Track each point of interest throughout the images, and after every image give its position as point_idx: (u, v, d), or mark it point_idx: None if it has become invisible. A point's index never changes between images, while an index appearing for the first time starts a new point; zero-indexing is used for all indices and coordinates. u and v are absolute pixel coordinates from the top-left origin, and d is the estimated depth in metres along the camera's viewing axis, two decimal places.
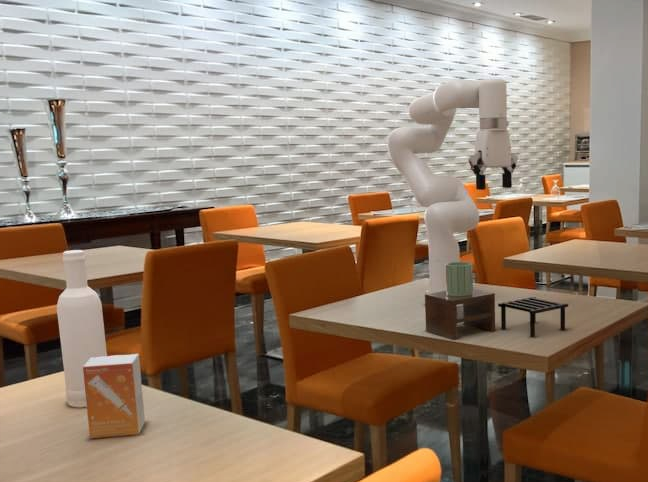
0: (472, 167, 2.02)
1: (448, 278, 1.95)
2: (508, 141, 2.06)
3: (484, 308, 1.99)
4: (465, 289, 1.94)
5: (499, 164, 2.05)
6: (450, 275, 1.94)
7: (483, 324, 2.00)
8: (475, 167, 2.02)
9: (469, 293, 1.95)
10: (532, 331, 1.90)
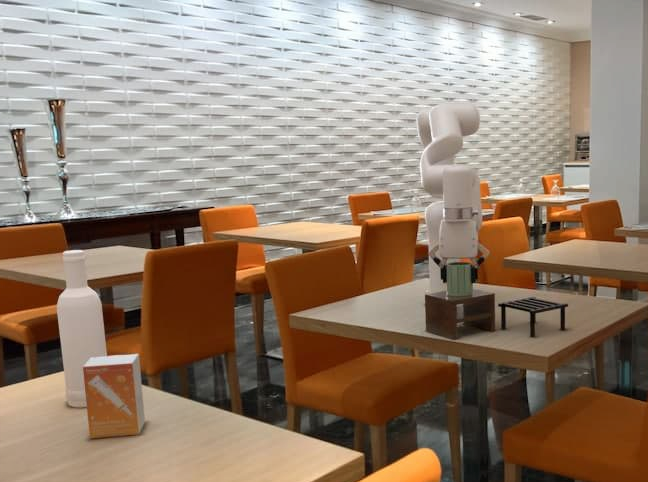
0: None
1: (448, 278, 1.95)
2: (471, 232, 1.92)
3: (484, 308, 1.99)
4: (465, 289, 1.94)
5: (458, 256, 1.93)
6: (450, 275, 1.94)
7: (483, 324, 2.00)
8: (434, 260, 1.96)
9: (469, 293, 1.95)
10: (532, 331, 1.90)
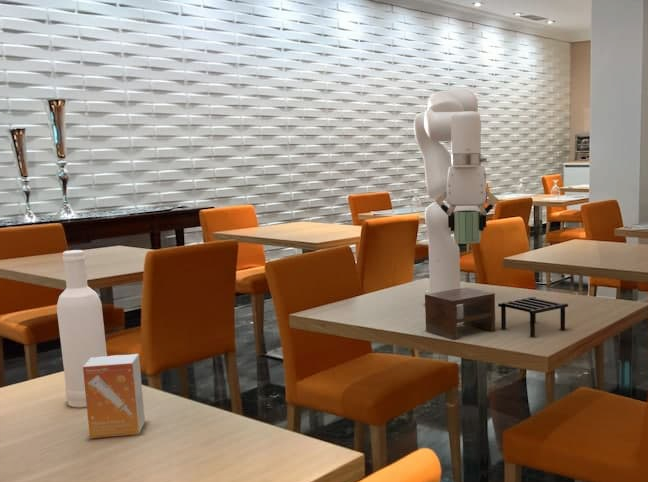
0: (441, 207, 1.94)
1: (456, 225, 1.92)
2: (479, 178, 1.89)
3: (484, 308, 1.99)
4: (473, 237, 1.92)
5: (466, 203, 1.91)
6: (458, 222, 1.92)
7: (483, 324, 2.00)
8: (442, 207, 1.93)
9: (477, 241, 1.93)
10: (532, 331, 1.90)
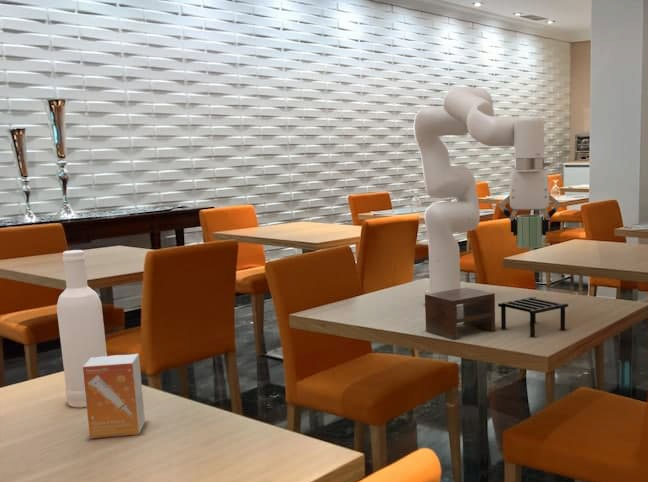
0: (503, 212, 1.94)
1: (519, 230, 1.92)
2: (543, 183, 1.89)
3: (484, 308, 1.99)
4: (536, 241, 1.91)
5: (530, 207, 1.91)
6: (521, 227, 1.91)
7: (483, 324, 2.00)
8: (504, 212, 1.93)
9: (540, 245, 1.92)
10: (532, 331, 1.90)
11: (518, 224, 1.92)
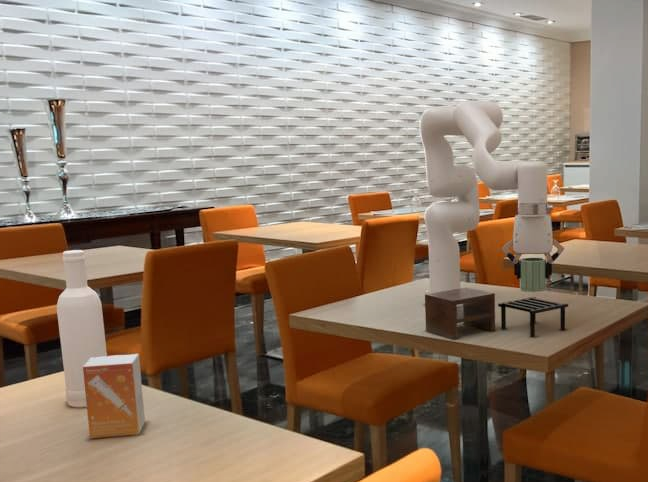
0: (507, 255, 1.96)
1: (522, 274, 1.94)
2: (546, 227, 1.91)
3: (484, 308, 1.99)
4: (540, 285, 1.93)
5: (533, 251, 1.93)
6: (525, 271, 1.93)
7: (483, 324, 2.00)
8: (508, 255, 1.95)
9: (543, 289, 1.94)
10: (532, 331, 1.90)
11: (522, 268, 1.94)
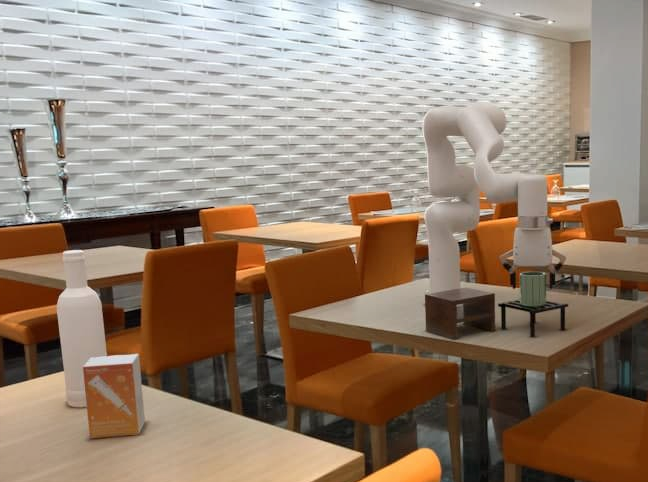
0: (503, 265, 1.97)
1: (522, 288, 1.95)
2: (546, 240, 1.92)
3: (484, 308, 1.99)
4: (540, 299, 1.94)
5: (533, 264, 1.94)
6: (525, 285, 1.94)
7: (483, 324, 2.00)
8: (504, 265, 1.96)
9: (543, 303, 1.95)
10: (532, 331, 1.90)
11: (521, 282, 1.95)
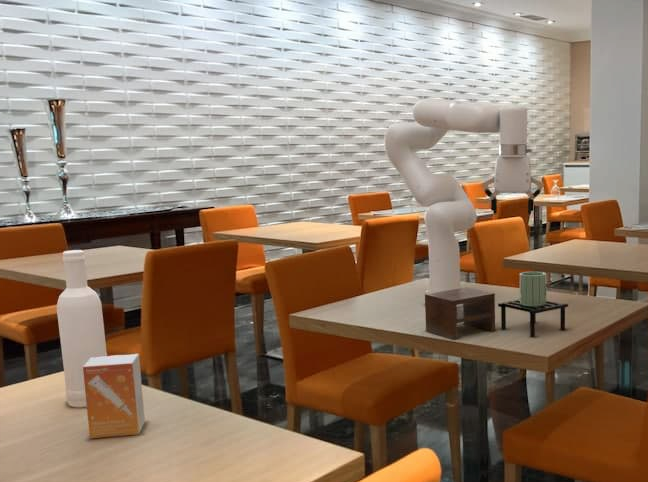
0: (485, 191, 2.10)
1: (522, 288, 1.95)
2: (525, 167, 2.05)
3: (484, 308, 1.99)
4: (540, 299, 1.94)
5: (513, 190, 2.06)
6: (525, 285, 1.94)
7: (483, 324, 2.00)
8: (485, 191, 2.09)
9: (543, 303, 1.95)
10: (532, 331, 1.90)
11: (521, 282, 1.95)
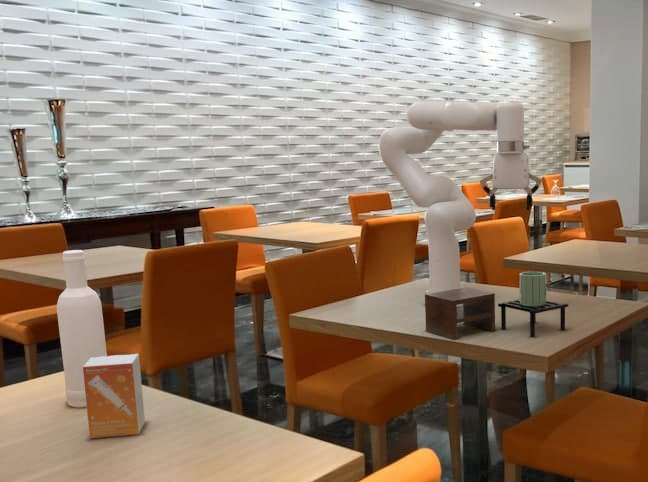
0: (483, 188, 2.11)
1: (522, 288, 1.95)
2: (523, 164, 2.07)
3: (484, 308, 1.99)
4: (540, 299, 1.94)
5: (511, 186, 2.08)
6: (525, 285, 1.94)
7: (483, 324, 2.00)
8: (484, 188, 2.10)
9: (543, 303, 1.95)
10: (532, 331, 1.90)
11: (521, 282, 1.95)
